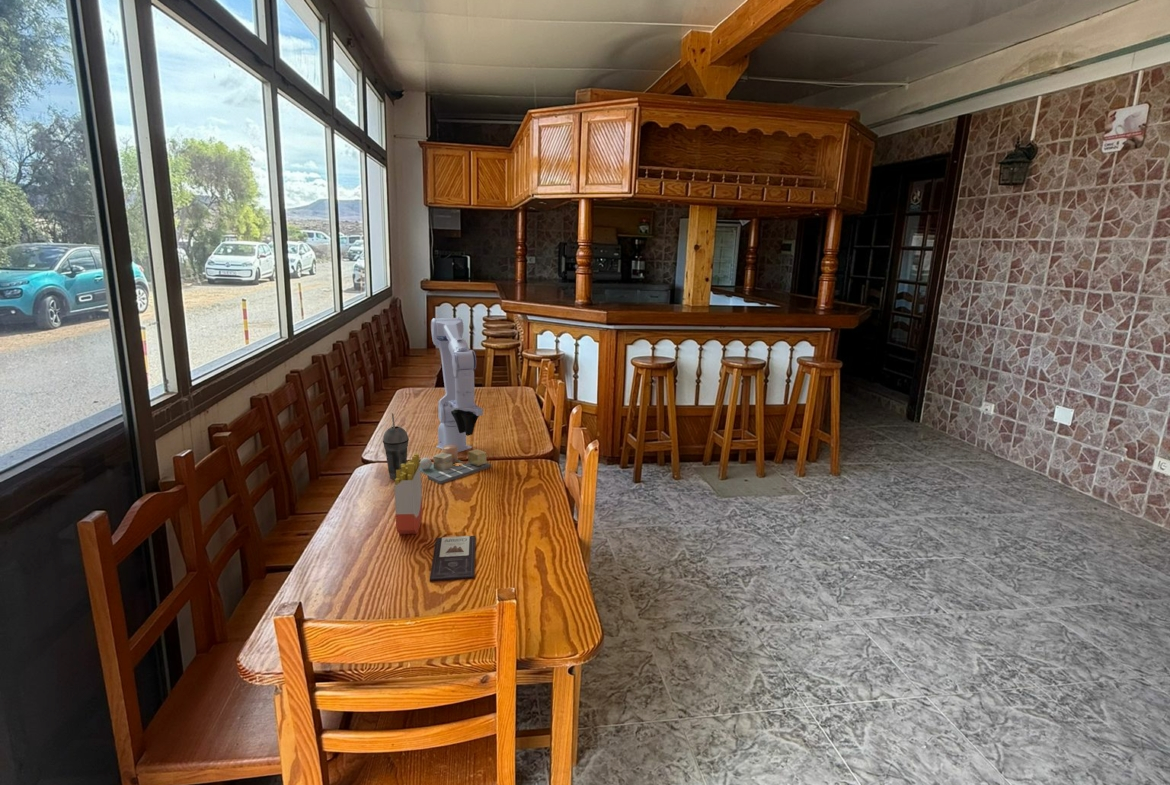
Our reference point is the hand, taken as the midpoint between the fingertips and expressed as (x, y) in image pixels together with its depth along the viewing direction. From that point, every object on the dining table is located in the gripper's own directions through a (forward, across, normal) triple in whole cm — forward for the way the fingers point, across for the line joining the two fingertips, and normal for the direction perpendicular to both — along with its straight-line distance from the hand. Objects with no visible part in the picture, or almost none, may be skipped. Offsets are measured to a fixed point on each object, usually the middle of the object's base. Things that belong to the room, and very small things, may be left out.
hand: (465, 433), depth 185 cm
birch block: (+10, -3, -7) cm, 12 cm away
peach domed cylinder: (+10, -5, -2) cm, 12 cm away
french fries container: (+11, +24, -36) cm, 45 cm away
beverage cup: (+11, -6, -20) cm, 24 cm away
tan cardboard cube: (+9, +4, +1) cm, 10 cm away
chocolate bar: (+11, +43, -37) cm, 58 cm away
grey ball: (+10, -6, -11) cm, 16 cm away
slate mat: (+10, -4, -6) cm, 13 cm away
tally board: (+10, +4, -6) cm, 12 cm away
